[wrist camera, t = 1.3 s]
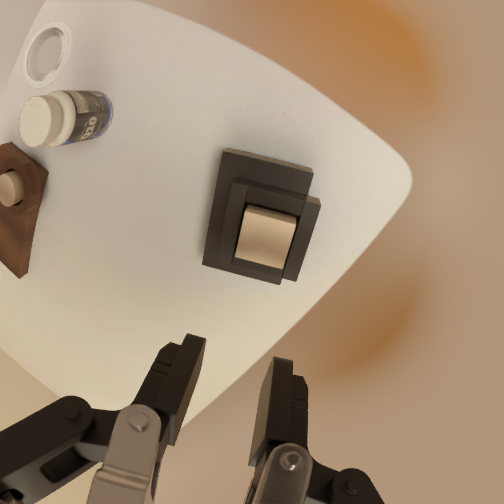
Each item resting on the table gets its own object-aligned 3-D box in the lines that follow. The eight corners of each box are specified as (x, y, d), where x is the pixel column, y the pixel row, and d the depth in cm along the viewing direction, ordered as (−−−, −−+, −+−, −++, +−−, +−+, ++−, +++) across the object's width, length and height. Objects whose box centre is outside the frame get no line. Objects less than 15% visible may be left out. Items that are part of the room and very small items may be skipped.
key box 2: (228, 148, 24) (217, 153, 21) (323, 172, 24) (328, 182, 21) (208, 254, 29) (196, 274, 25) (291, 275, 29) (289, 299, 25)
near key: (248, 204, 22) (244, 211, 21) (296, 216, 22) (296, 224, 21) (238, 247, 24) (234, 257, 22) (283, 259, 24) (282, 269, 22)
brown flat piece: (13, 134, 26) (-8, 139, 23) (57, 167, 27) (35, 175, 24) (-5, 241, 33) (-21, 251, 30) (32, 277, 34) (17, 289, 31)
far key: (9, 164, 24) (-1, 168, 23) (27, 180, 25) (17, 184, 23) (4, 192, 26) (-6, 196, 24) (21, 208, 26) (12, 212, 25)
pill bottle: (90, 147, 26) (30, 165, 18) (69, 112, 24) (8, 121, 17) (122, 117, 24) (63, 124, 17) (99, 80, 23) (38, 78, 15)
